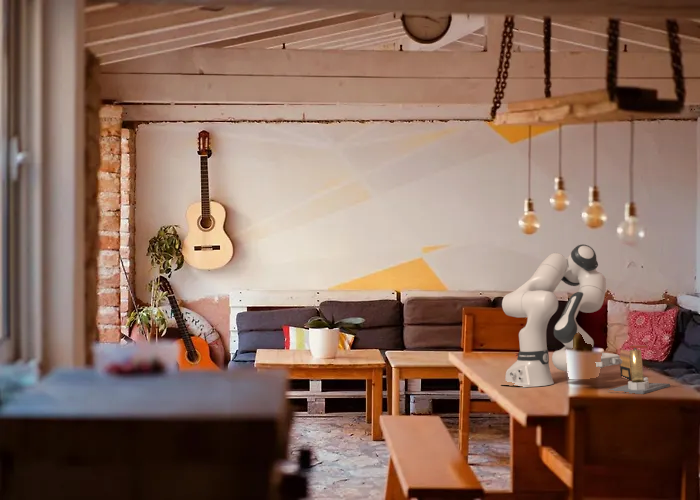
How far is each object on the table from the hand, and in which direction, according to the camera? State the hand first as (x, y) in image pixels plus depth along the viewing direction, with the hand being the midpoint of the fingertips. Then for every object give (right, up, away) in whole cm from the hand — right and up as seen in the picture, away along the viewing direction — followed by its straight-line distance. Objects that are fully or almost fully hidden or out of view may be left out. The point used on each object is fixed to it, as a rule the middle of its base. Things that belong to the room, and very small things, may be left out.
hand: (612, 362), depth 326 cm
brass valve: (+8, -8, -11) cm, 16 cm away
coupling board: (+8, -9, -6) cm, 14 cm away
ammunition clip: (+14, -10, +25) cm, 30 cm away
